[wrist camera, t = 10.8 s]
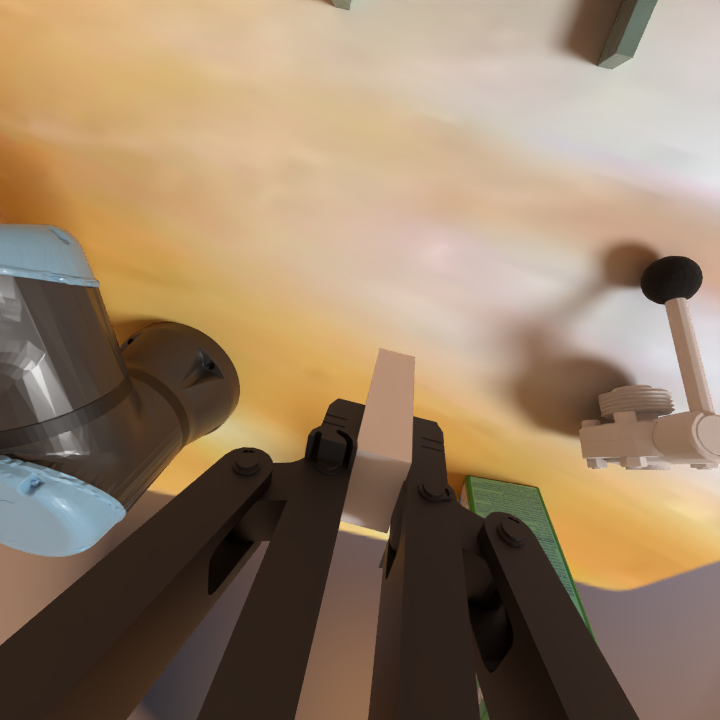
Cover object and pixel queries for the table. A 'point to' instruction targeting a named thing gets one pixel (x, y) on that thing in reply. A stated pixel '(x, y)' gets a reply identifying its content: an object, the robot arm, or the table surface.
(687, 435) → the valve
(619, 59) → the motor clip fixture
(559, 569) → the milk carton
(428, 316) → the table surface
